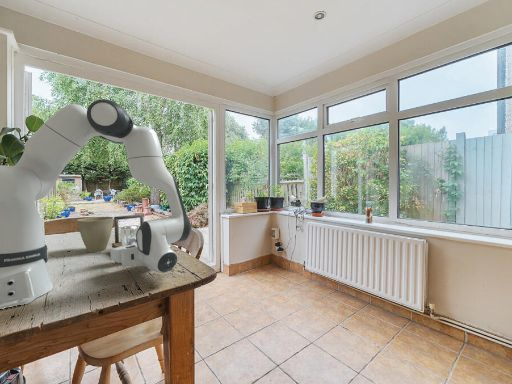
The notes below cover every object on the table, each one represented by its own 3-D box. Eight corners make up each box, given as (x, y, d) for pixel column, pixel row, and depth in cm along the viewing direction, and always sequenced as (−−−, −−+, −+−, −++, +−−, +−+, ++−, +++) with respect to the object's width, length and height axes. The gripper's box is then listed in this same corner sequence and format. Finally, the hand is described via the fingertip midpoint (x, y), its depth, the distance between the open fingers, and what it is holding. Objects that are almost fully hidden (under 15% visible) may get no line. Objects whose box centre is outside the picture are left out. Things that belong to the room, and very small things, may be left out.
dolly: (121, 258, 103) (120, 220, 102) (112, 252, 112) (111, 217, 111) (156, 250, 115) (156, 216, 114) (145, 245, 124) (145, 213, 123)
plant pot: (121, 246, 121) (120, 216, 120) (97, 255, 107) (96, 221, 106) (96, 245, 124) (96, 215, 123) (70, 253, 109) (69, 220, 108)
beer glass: (142, 260, 100) (142, 226, 99) (126, 265, 94) (125, 229, 93) (133, 258, 104) (133, 225, 103) (117, 262, 98) (117, 227, 97)
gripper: (173, 239, 94) (158, 233, 103) (118, 249, 79) (105, 242, 88) (173, 254, 94) (158, 247, 104) (118, 268, 79) (106, 258, 88)
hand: (133, 245), depth 96 cm, fingers open, 8 cm apart
